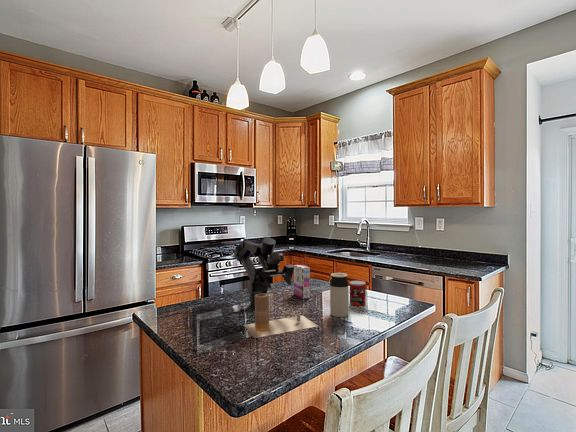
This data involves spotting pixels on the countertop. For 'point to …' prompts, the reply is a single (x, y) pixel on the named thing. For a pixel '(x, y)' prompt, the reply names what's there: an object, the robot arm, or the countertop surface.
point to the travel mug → (339, 295)
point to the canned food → (358, 293)
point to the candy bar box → (302, 281)
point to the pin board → (282, 326)
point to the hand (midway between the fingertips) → (280, 286)
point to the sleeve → (261, 312)
